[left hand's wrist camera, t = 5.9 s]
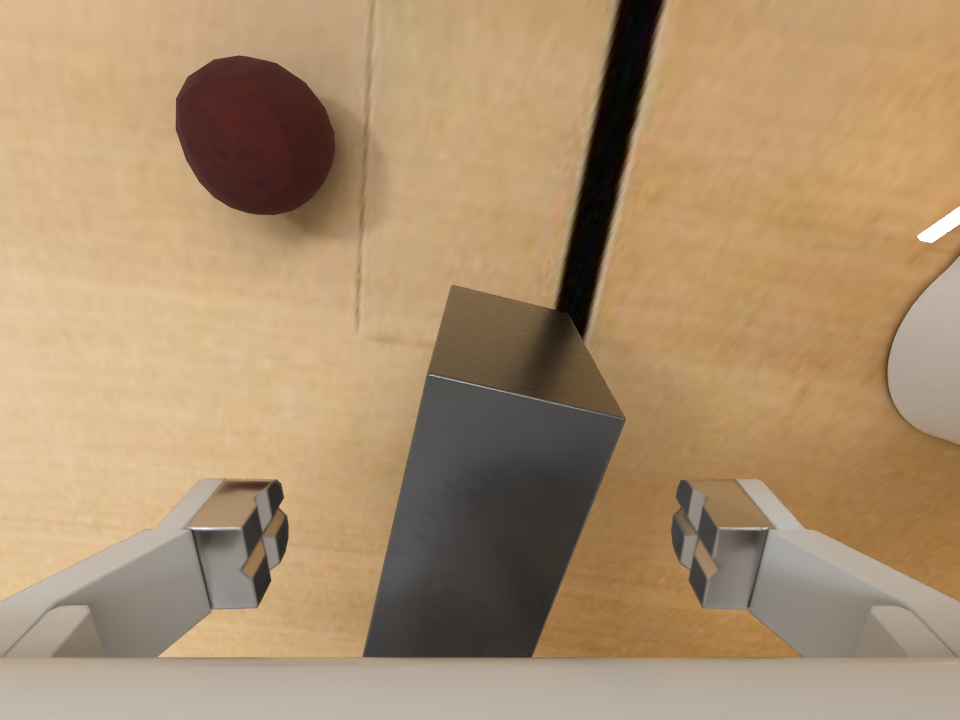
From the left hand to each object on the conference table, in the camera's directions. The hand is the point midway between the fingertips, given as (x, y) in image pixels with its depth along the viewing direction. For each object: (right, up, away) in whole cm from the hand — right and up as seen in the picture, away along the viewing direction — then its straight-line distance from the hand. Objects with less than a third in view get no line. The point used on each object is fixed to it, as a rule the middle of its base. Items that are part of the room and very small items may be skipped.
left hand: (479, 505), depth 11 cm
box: (-1, -5, +19) cm, 20 cm away
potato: (-12, +16, +20) cm, 28 cm away
